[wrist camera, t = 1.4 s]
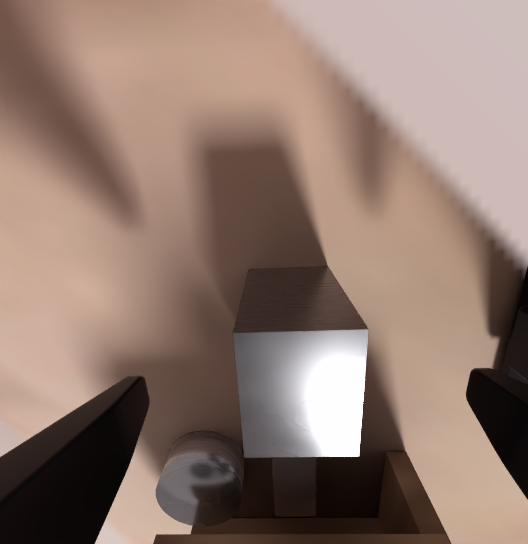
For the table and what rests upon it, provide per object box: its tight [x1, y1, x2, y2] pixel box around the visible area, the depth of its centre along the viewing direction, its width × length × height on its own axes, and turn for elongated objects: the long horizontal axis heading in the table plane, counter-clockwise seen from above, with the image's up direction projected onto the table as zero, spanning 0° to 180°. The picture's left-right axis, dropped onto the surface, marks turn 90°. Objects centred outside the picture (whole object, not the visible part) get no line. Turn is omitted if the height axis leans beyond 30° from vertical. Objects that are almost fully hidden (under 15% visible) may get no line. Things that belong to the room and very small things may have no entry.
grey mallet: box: [233, 266, 369, 516], centre depth 11 cm, size 3×12×5 cm, turn 3°
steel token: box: [156, 431, 245, 526], centre depth 14 cm, size 4×4×2 cm
